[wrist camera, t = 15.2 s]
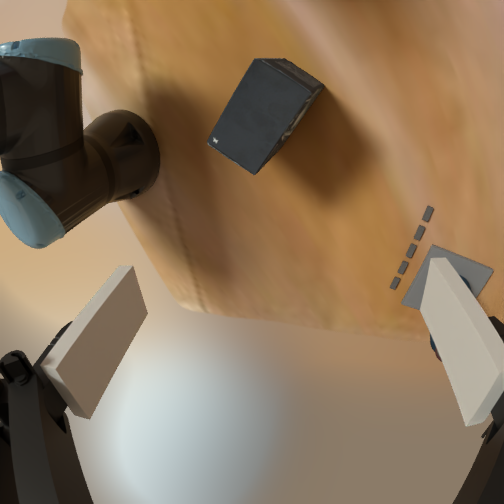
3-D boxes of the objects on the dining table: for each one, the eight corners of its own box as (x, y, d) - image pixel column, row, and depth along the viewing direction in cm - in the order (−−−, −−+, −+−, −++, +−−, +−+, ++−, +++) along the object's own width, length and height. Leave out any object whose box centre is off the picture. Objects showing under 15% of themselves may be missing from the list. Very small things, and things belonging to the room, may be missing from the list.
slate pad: (401, 301, 45) (401, 304, 45) (432, 244, 39) (432, 246, 38) (458, 321, 43) (458, 323, 43) (492, 268, 37) (493, 270, 36)
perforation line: (389, 286, 45) (389, 288, 45) (427, 205, 36) (428, 206, 36) (394, 288, 45) (394, 289, 44) (433, 207, 36) (433, 208, 36)
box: (281, 151, 40) (254, 178, 32) (240, 122, 40) (202, 142, 32) (328, 85, 33) (312, 92, 25) (282, 55, 33) (251, 54, 25)
